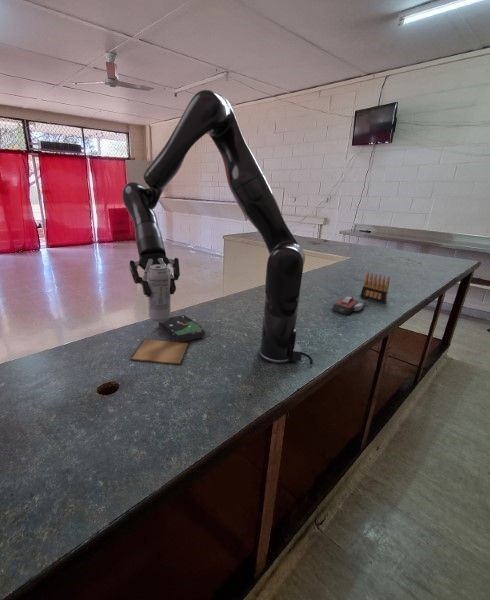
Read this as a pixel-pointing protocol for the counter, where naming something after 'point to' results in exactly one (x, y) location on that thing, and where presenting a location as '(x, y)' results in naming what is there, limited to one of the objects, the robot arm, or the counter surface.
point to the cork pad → (160, 351)
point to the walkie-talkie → (348, 305)
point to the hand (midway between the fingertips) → (160, 294)
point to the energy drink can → (159, 292)
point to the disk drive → (182, 328)
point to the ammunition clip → (375, 288)
